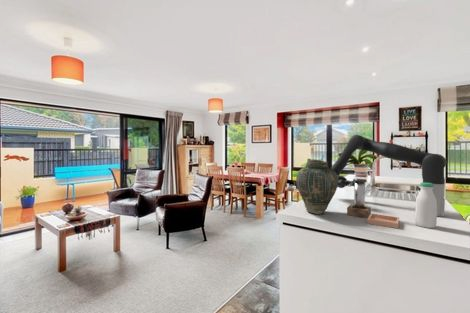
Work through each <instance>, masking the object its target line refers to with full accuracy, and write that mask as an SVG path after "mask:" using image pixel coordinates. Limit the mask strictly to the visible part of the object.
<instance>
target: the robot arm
mask: <svg viewBox="0 0 470 313" xmlns="http://www.w3.org/2000/svg"><path fill="white" fill-rule="evenodd" d="M356 150H361V151H367V152H371V153H374V154H376V155H378V156H381V157H384V158H387V159H391V160H395V161H399V162H407V163H413V164H416V165H419V166H421V177H422V183H432V184H433V189H432V191H433V194H434V196H435V198H436V201H437V217H441V218H442V217H443V218H444V217H445V206H446V199H445V192H446V190H445V187H446V185H445V184H446V178H445V168H446V166H447V164H448V162H447V158H446V157H444V156H443V155H442V154H438V153H430V152H424V151H421V150H420V151H419V150H417V149H416V150H415V149H413V148H410V147H407V146H403V145H401V144H396V143H392V142H386V141H385V142H384V141H376V140H373V139H370V138H367V137H365V136H362V135H360V134H354V135H352V136H351V137H350V138H349V139H348V142H347V143H346V145H345V147H344V149H343V151H342V152H341V154H340V155H339V157H338V158H337V159H336V161H335V162H334V163H333V165H332V166H331V167H330V169H332V170H334V171H335V172H336V174H337V176H338V187H337V188H339V189H343V188H346V187H349V188H350V187H354V188H355V182H354V181H353V180H348V179H347V178H346V177H345V176H342V175H341V173H342V172H343V170H344V169H345V167H346V166H347V165H348V163H349V161H350V158H351V156H352V155H353V154H354V153H355V151H356Z"/></svg>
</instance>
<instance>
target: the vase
mask: <svg viewBox="0 0 470 313" xmlns="http://www.w3.org/2000/svg"><path fill="white" fill-rule="evenodd" d="M295 181H296V182H295V184H296V187H297V190H298V192H299V195H300V197H301V199H302V201H303V203H304V208H305V209H306V212H309V213H311V214H316V215H322V214H324V213H325V212H326V210H328V206H329V205H330V203H331V201H332V199H333V197H334V196H335V194H336V192H337V190H338V188H339V187H338V176H337V174H336V172H335V171H334V170H332V169H331V167H329V164H328V161H324V160H321V159H311V158H307V162H306V164H305V166H304V167H303V168H302V167H301V169H299V170H298V172H297V174H296V178H295Z"/></svg>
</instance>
